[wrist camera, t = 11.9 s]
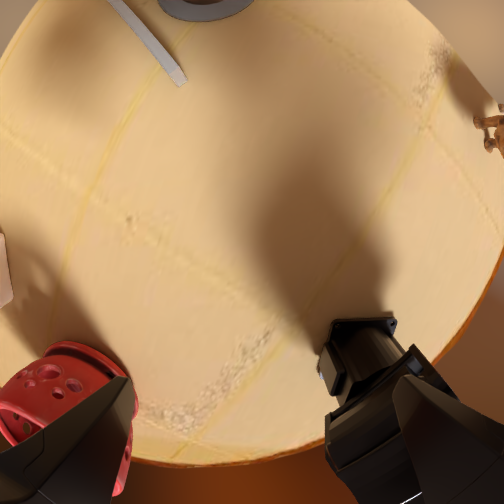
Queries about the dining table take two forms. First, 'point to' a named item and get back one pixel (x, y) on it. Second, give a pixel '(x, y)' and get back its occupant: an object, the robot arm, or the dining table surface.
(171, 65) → the low wall
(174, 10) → the resting pad
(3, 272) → the medicine bottle
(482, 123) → the lion figurine
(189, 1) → the pepper mill
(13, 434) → the plant pot
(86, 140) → the dining table surface
